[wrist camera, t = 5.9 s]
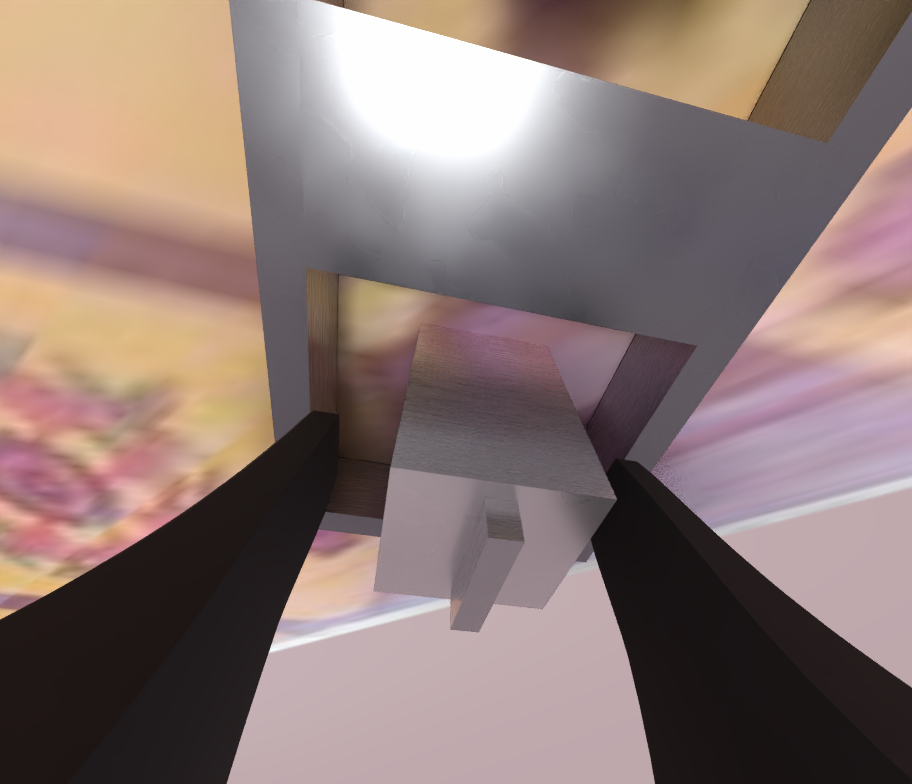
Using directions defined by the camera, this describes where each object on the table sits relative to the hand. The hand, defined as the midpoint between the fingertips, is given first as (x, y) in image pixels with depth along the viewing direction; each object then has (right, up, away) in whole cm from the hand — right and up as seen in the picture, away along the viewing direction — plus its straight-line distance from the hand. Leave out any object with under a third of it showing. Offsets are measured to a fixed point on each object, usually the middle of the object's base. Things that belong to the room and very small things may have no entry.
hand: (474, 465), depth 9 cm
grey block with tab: (0, +2, +3) cm, 4 cm away
